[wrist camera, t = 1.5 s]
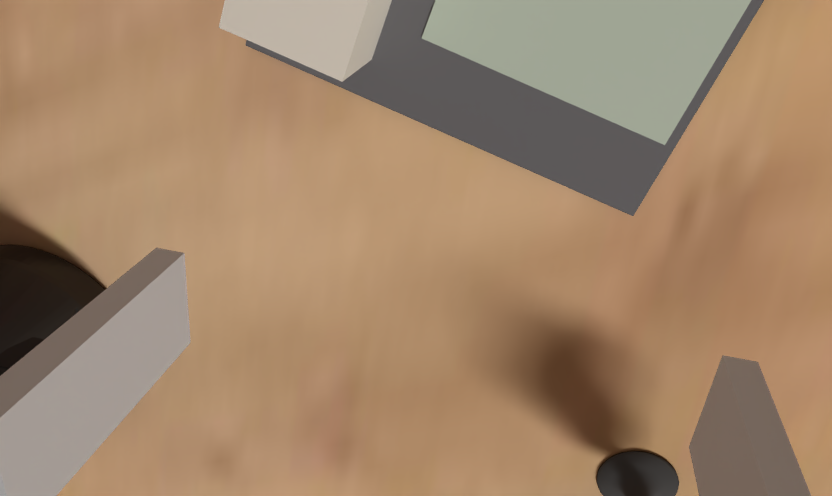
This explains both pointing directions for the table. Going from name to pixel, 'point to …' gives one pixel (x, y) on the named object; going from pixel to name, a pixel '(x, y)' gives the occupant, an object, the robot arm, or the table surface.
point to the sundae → (637, 476)
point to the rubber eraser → (311, 30)
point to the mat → (555, 80)
